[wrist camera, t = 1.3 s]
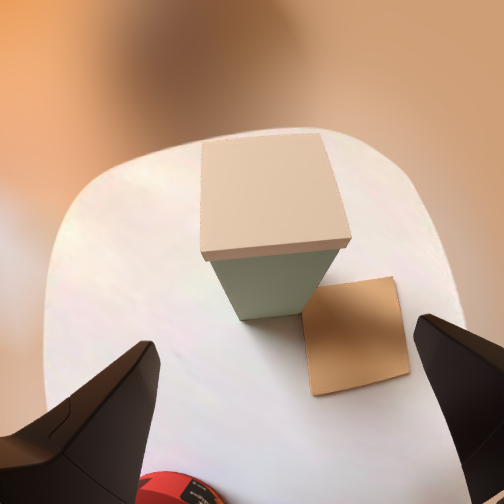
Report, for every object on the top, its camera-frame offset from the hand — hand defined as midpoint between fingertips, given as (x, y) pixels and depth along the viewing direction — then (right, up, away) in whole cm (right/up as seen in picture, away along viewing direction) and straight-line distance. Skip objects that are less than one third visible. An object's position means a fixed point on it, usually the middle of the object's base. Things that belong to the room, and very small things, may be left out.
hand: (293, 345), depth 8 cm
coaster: (+7, -3, +11) cm, 13 cm away
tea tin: (0, 0, +13) cm, 13 cm away
